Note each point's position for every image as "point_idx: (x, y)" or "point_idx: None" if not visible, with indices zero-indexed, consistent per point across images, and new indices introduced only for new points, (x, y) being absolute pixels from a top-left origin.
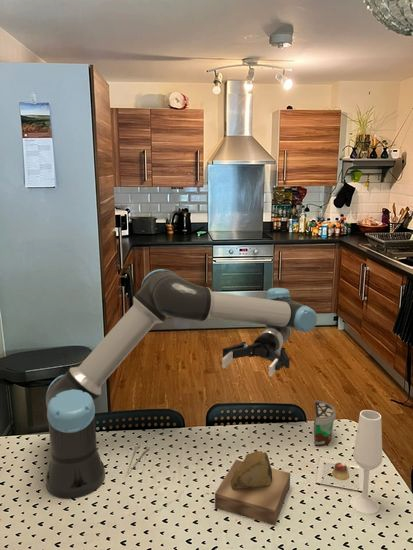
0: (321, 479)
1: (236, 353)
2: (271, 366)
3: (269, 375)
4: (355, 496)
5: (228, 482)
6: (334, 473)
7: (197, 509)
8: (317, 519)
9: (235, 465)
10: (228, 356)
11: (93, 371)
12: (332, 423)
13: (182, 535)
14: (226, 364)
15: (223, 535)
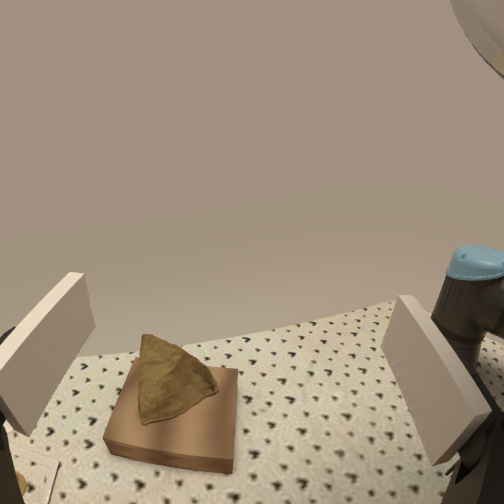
0: (48, 474)
1: (463, 492)
2: (68, 278)
3: (90, 322)
4: (7, 428)
5: (224, 394)
6: (20, 478)
7: (261, 379)
8: (76, 390)
9: (227, 440)
10: (426, 344)
11: None
12: None
13: (258, 343)
14: (396, 358)
15: (207, 352)
